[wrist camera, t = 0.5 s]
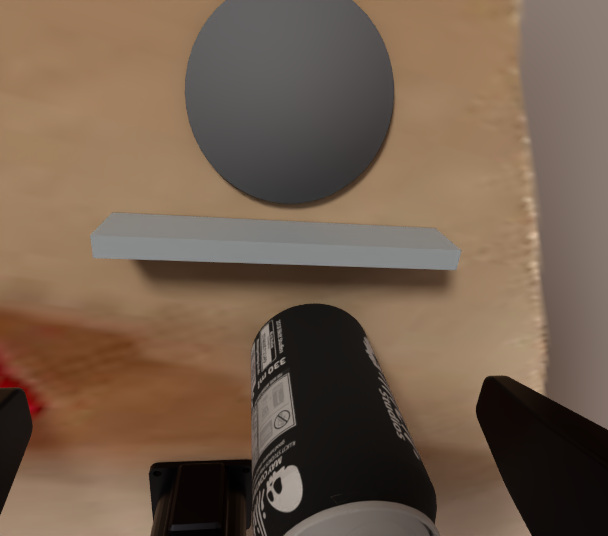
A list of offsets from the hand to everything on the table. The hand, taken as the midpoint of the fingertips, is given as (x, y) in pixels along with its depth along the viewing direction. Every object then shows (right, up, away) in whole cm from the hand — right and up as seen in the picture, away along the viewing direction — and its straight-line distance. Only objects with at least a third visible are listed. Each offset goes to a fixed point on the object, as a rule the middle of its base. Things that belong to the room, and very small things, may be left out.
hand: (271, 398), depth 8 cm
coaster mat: (0, +10, +10) cm, 14 cm away
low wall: (0, +5, +13) cm, 13 cm away
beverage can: (+1, -2, +16) cm, 16 cm away
